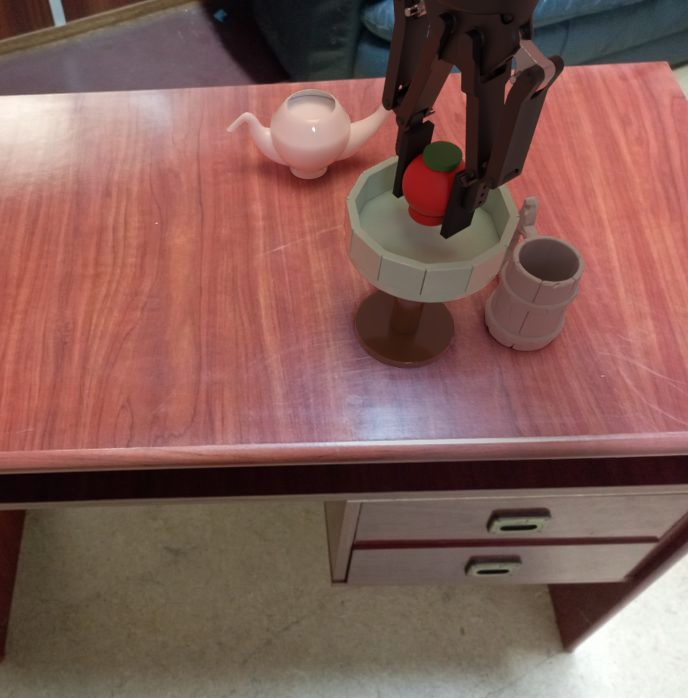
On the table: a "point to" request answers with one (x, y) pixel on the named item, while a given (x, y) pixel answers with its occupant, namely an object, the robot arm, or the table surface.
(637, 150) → the table surface
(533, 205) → the mug
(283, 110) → the teapot
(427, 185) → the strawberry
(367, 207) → the dish
